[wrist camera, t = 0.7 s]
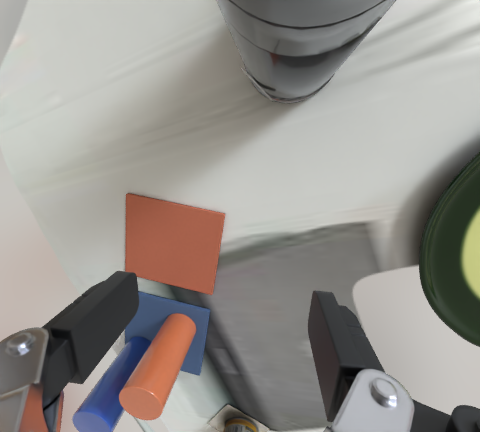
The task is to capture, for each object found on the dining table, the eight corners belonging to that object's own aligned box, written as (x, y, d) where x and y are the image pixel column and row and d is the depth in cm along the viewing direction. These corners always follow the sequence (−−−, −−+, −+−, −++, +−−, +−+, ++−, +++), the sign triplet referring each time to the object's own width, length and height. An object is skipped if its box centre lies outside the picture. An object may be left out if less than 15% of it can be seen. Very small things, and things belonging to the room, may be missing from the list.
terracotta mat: (128, 193, 30) (125, 194, 30) (225, 213, 29) (224, 215, 29) (127, 271, 34) (125, 273, 34) (213, 292, 33) (211, 295, 33)
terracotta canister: (165, 309, 35) (118, 381, 24) (198, 317, 34) (163, 394, 24) (163, 335, 36) (118, 412, 26) (194, 343, 36) (161, 425, 26)
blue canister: (127, 332, 37) (70, 406, 27) (157, 340, 37) (110, 418, 27) (127, 355, 39) (73, 433, 29) (155, 363, 39) (111, 445, 28)
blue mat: (127, 288, 35) (125, 290, 35) (210, 309, 34) (209, 312, 34) (126, 352, 40) (124, 355, 39) (200, 372, 39) (199, 375, 38)
